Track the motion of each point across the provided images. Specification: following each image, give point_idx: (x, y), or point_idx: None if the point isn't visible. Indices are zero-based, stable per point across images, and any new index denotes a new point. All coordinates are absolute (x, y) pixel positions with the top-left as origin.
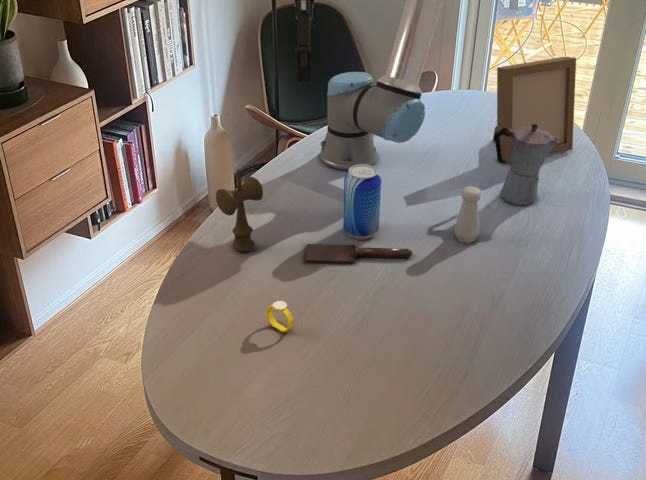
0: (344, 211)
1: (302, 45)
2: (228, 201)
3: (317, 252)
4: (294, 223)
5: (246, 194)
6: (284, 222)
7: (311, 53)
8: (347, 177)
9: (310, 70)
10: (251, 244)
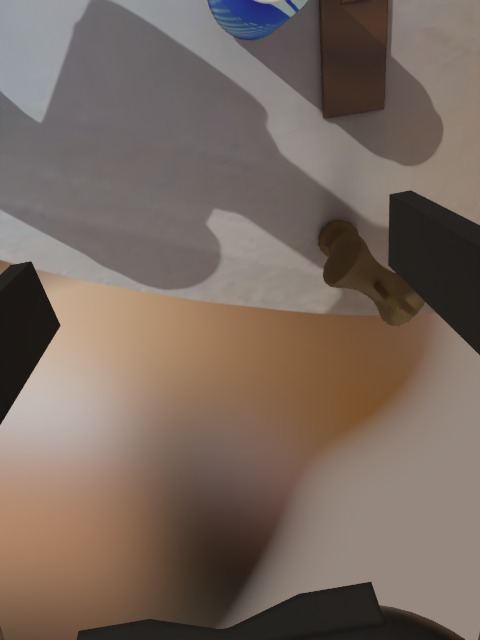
0: (274, 29)
1: (24, 356)
2: None
3: (355, 86)
4: (238, 164)
5: (382, 268)
6: (238, 185)
7: (18, 278)
8: (287, 6)
9: (445, 210)
10: (345, 225)
